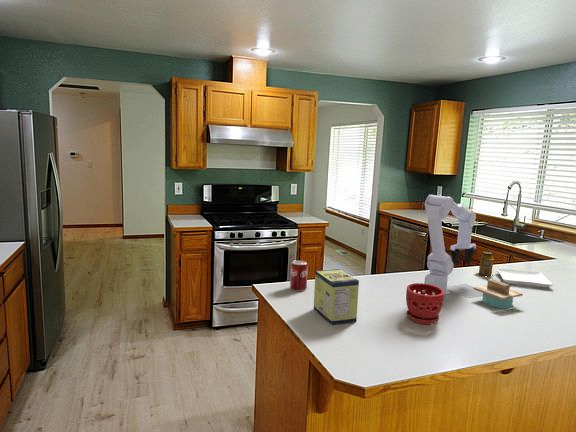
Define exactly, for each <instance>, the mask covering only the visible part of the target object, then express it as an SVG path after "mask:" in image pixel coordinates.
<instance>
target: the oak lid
mask: <svg viewBox="0 0 576 432" xmlns="http://www.w3.org/2000/svg"><path fill="white" fill-rule="evenodd" d="M473 287H474V290H477V291H480V292H482V293H485V294H488V295H490V296H493V297H496V298H498V299H501V300H502V299H507V298H513V299H514V298H519V297H522V296H523V295H524V294H523V293H521V292H519V291H516V290H513V289H511V288H510V287H511V284H509V283H506V282H501V281H500V280H497V279H493V278H492V279H488V280H487V284H486V285H482V286H480V285H479V286H473Z"/></svg>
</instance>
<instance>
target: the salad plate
mask: <svg viewBox="0 0 576 432" xmlns="http://www.w3.org/2000/svg"><path fill="white" fill-rule="evenodd" d="M495 270H496V272H497V274H498V275H500V276H501V278H502V280H503V281H504V283H505V284H508V285H514V286H523V287H532V288H533V287H534V288H548V287H549V288H550V287H551V286H553V283H552V282H551V281H550V280H549V279H548V278H547V277H546V276H545V275H544V274H543V273H542V272H538V271H530V270H523V269H522V270H520V269H508V268H495Z"/></svg>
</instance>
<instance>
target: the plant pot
mask: <svg viewBox="0 0 576 432" xmlns="http://www.w3.org/2000/svg"><path fill="white" fill-rule="evenodd" d="M423 290H425V291H423ZM432 292H434V293H435V295H433V294H432ZM444 299H445V294H444V291H443V290H442V289H441V288H439V287H437V286H434V285H430V284H424V282H423V283H419V282H416V283H411V284H408V285H407V286H406V292H405V302H406V307H407V310H406V316H407V317H408V318H409V319H410V320H411V321H413V322H415V323H419V324H423V325H431V324H436V323H437V322H438V321H439V319H440V315H439V314H440V312H441V310H442V307H443V304H444Z"/></svg>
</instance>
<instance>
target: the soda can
mask: <svg viewBox="0 0 576 432" xmlns="http://www.w3.org/2000/svg"><path fill="white" fill-rule="evenodd" d="M308 265H309V264H308V263H307V261H305V260H292V261H291V263H290V280H289V281H290V282H289V283H290V284H289V287H290V290H291V291H294V292H305V291H306V290H307V288H308V287H307V286H308V270H309V269H308V268H309V266H308Z"/></svg>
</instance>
